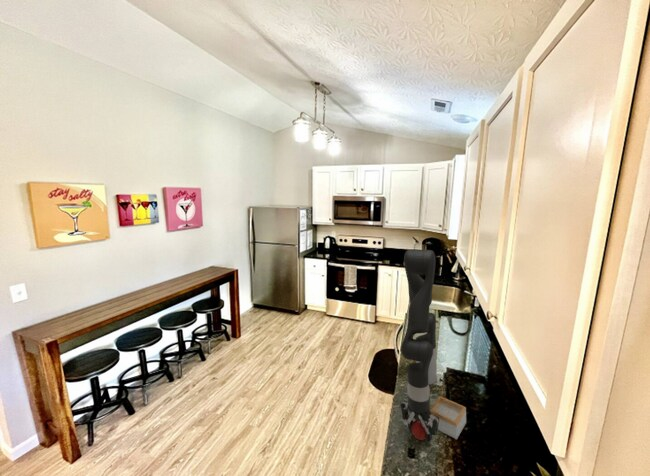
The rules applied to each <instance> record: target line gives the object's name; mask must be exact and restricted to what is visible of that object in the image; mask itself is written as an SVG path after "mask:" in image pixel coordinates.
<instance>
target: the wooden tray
mask: <svg viewBox="0 0 650 476" xmlns="http://www.w3.org/2000/svg"><path fill="white" fill-rule="evenodd" d="M430 412H431V415H432V416H434V417H436V416H437V417H439V424H438V430H437V431H439V432H441V433H443V434H446V435H447V436H449V437H451V438H453V439H455V440H458V438H459V436H460V434H461V433H462V431H463V429H464V427H465V426H466V425H467V407H466V406H464V405H462V404H459V403H457V402H455V401H453V400H450V399H448V398H446V397H443V396H442V395H439V396H438V398H437V399H436V400H435V402H434V403H433V404H432V406H430ZM429 419H430V418H429ZM430 424H431V426H432V423H431V419H430Z"/></svg>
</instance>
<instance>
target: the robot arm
mask: <svg viewBox="0 0 650 476" xmlns="http://www.w3.org/2000/svg"><path fill="white" fill-rule="evenodd" d="M403 256H404V257H403V264H404V271H405V274H406V278H407V287H408V298H409V299H408V300H409V308H408V312H407V313H408V316H407V320H408V321H407V328H406V330H405V334H404V338H403V339H402V340H403V341H402V343H401V347H400V351H401V354H402V356H403V358H404V359H406V360H411V361H414V362H411V363H410V364H409V365H408V366H407V369H406V370H407V384H406V385H407V386H406V388H407V389H406V391H407V401H406V400H403V401H402V402H401V403H400V405H399V406H400V411H401V416H402V419H403V420H406V423H407V429H408V431H409V433H410V434H413V433H412V430H411V427H412V423H413V422H414V421H415V420H418V421H420V422H421V423H422V425H423V427H424V428H425V430H426V438H425V442H426V443H427V444H429V443H431V441H432V440H433V436H436V434H437V432H438V431H439V430H438V424H439V417H437V416H436V417H434V416H432V415H431V412H430V408H431V399H430V395H431V393H430V385H434V384H436V383H437V381H438V378H437V377H438V376H437V368H438V367H437V343H436V341H437V340H436V335H437V334H436V332H437V331H436V330H437V319H436V315H435V313H433V312H430V306H431V304H432V301H433V298H432V297H433V286H434V281H435V273H436V272H435V271H436V255H435V252H434V250H431V249H408V250H405V253H404V255H403ZM420 275H425V276H424V279H423V278H422V277H421V276H420ZM416 334H420V335H418V336H417V337H415V339H414V336H416ZM409 413H410V414H409ZM429 418H430V419H431V423H432V426H431V424H430V419H429Z"/></svg>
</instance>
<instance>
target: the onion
mask: <svg viewBox="0 0 650 476" xmlns="http://www.w3.org/2000/svg"><path fill="white" fill-rule="evenodd" d="M413 421H414V422H413V423H412V427H411V430H412V433H411V434H412V435H413V436H414V437H415V438H416V439H418V440H421V441H424V440H426V430H425V428H424V427H423V425H422V423H421V422H420V421H418V420H415V419H414V420H413Z"/></svg>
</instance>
